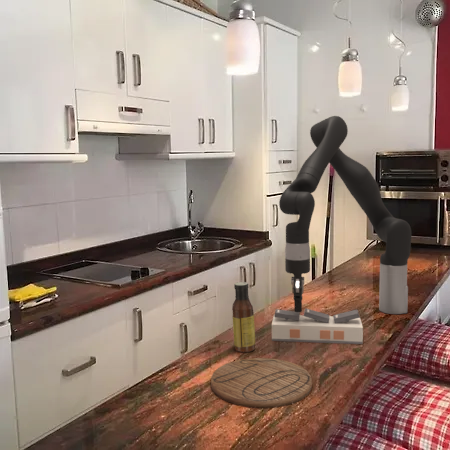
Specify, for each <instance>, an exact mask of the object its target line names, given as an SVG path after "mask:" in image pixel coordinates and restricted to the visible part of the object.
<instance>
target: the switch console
mask: <svg viewBox="0 0 450 450" xmlns="http://www.w3.org/2000/svg"><path fill="white" fill-rule="evenodd" d="M363 333H364V327H363V323H362V320H361V317H360V318H356V319H352V320H349V321H348V322H346V321H344V322H340V323H335V322H334V317H333V316H331V315H329V322H328V323H326V322H322V321H319V320H317V321H315V320H314V319H312V318H308V317H305V316H304V314H303V315H301V314H300V317H299V320H292V319H288V320H286V319H284V318H277V317H275V314H273V317H272V322H271V341H272V342H274V341H275V342H290V343H291V342H292V343H294V342H298V343H323V344H349V345H353V344H354V345H363V341H364V339H363V337H364V334H363Z"/></svg>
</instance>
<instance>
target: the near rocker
mask: <svg viewBox="0 0 450 450" xmlns="http://www.w3.org/2000/svg"><path fill="white" fill-rule="evenodd" d="M333 317H334V322H335V323H340V322H344V321H346V322H348V321H349V320H352V319H356V318H360V319H361V316H360V314H359V311H358V309H353V310H349V311H345V312H340V313H337V314H333Z"/></svg>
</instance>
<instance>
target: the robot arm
mask: <svg viewBox="0 0 450 450" xmlns="http://www.w3.org/2000/svg"><path fill="white" fill-rule="evenodd" d="M348 132H349V131H348V125H347V122H346V121H345V120H344V119H343V118H342V117H340V116H339V115H331V116H330V117H328V118H324V119H323V120H320V121H319V122H317V123H315V124H313V125H312V126H311V128H310V129H309V136H310V139H311V141H312V143H313V144H314V147H316V149H315V150H313V152H312V153H311V154H310V155H309V156H308V157H307V159H306V160H305V161H304V162H303V164H302V166H301V167H300V168H299V172H298V174H297V176H296V178H295V179H293V181H292V182H291V183H290V184H289V185H288V186H287V187H286V189H285V190H284V191H283V192H282V193H281V195H280V198H279V203H278V205H279V209H280V211H281V212H282V213H283V214H285V215H291V216H293V215H295V216H298V220H297V221H294V222H289V223H287V224H286V226H285V248H284V254H285V255H284V257H285V258H284V260H285V261H284V262H285V263H284V264H285V272H286V273H287V274H290V275H291V274H292V275H293V276H291V279H290V284H291V290H292V291H291V292H292V294H293V297H292V298H293V301H294V303H293V304H294V311H295V312H300V313H302V310H303V307H302V306H303V304H302V303H303V294H304V289H305V288H304V287H305V277H304V276H302V275H304V274H308V273H310V271H311V246H310V226H311V221H312V217H313V213H314V210H315V206H316V202H315V201H316V200H315V197H314V195H313V194H312V193H315V191H316V190H317V188H318V185H319V184H320V182H321V180H322V177H323V175H324V172H325V171H326V168H327V167H328V166H329V164H330V166H331V167H332V168H333V169H334V171H335V172H336V174H337V175H338V176H339V178H340V179H341V181H342V182H343V184H344V185H345V187H346V189H347V190H348V191H349V193H350V195H351V196H352V197H353V199H354V200H355V202H356V203H357V204H358V206H359V207H360V208H361V209H362V211H363V212H364V214H365V215H366V217H367V218H368V220H369V222H370V223H371V227H372V228H373V229H374V231H375V233H376V236H378V239H380V240H381V241H382V242H383V243H385V251H384V253H382V254H381V255H380V257H379V287H378V288H379V294H378V296H379V298H378V301H379V302H378V310H379V312H381V313H384V314H388V315H389V314H390V315H401V314H408V308H409V307H408V304H409V303H408V302H409V301H408V300H409V299H408V297H409V294H408V293H409V286H408V260H409V257H410V255H411V247H412V228H411V226H410V224H409V223H408V221H406V220H404V219H401V218H396V217H394V216H393V214H392V213H391V212H390V211H389V210H388V208H387V207H386V205H385V204H384V202H383V200H382V199H383V198H382V194H381V190H380V187H379V184H378V182H377V180H376V179H375V177H374V176H373V174H372V172H371V171H370V170H369V169H368V167H366V166H365V165H364V164H362V163H360V162H359V161H357V160H355V159H353V158H351V157H350V156H348V155H346V153H344V152H343V151H342V149H340V147H341V146H342V145H343V142H344V141H345V140H346V138H347V136H348Z"/></svg>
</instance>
